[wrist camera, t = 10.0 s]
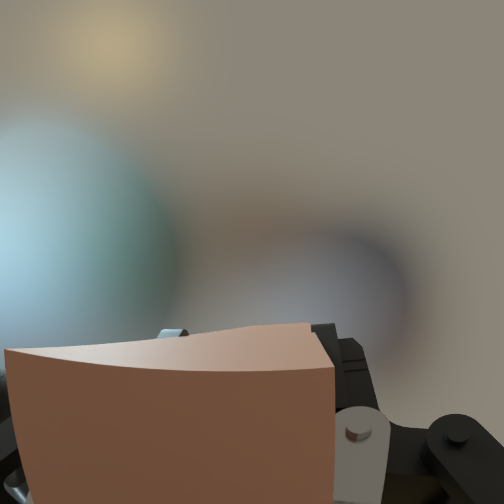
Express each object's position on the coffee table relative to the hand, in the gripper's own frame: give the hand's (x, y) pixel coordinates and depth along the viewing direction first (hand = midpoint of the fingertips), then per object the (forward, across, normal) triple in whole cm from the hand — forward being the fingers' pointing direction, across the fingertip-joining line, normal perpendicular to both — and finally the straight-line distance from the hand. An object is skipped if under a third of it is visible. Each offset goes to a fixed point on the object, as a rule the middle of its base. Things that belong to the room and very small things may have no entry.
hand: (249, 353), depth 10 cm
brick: (+1, 0, +5) cm, 5 cm away
